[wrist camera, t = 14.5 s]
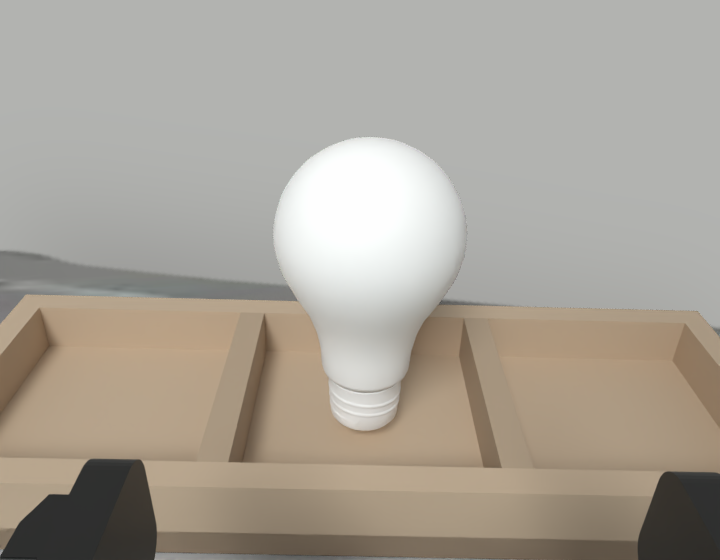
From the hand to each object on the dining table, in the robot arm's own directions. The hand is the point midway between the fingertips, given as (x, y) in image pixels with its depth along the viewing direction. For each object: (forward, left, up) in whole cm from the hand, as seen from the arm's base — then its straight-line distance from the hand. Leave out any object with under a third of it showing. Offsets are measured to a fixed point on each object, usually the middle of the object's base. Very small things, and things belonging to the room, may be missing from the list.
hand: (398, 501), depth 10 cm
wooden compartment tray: (0, -12, -10) cm, 15 cm away
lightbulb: (0, -11, -9) cm, 15 cm away
